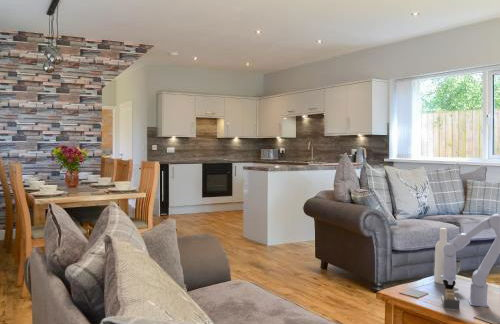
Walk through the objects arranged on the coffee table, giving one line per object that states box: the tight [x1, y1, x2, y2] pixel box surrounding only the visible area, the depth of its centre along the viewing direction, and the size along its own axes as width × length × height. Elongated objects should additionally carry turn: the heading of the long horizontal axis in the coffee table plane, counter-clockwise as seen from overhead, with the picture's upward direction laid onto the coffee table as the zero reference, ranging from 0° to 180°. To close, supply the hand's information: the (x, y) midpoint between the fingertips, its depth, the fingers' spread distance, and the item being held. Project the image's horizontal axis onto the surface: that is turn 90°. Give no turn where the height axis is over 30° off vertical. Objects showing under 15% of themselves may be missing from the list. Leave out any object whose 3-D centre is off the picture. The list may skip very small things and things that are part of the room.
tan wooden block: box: [444, 289, 456, 300], centre depth 223 cm, size 9×3×5 cm, turn 162°
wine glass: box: [443, 259, 462, 292], centre depth 247 cm, size 8×8×15 cm
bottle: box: [433, 227, 449, 285], centre depth 258 cm, size 8×8×30 cm
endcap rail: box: [441, 295, 460, 312], centre depth 222 cm, size 16×6×5 cm, turn 162°
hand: (448, 295), depth 229 cm, fingers closed
